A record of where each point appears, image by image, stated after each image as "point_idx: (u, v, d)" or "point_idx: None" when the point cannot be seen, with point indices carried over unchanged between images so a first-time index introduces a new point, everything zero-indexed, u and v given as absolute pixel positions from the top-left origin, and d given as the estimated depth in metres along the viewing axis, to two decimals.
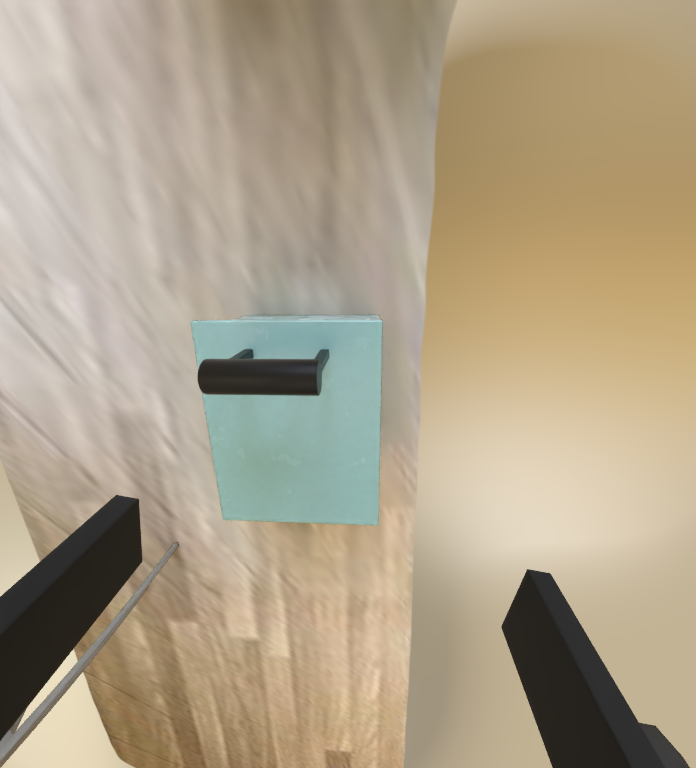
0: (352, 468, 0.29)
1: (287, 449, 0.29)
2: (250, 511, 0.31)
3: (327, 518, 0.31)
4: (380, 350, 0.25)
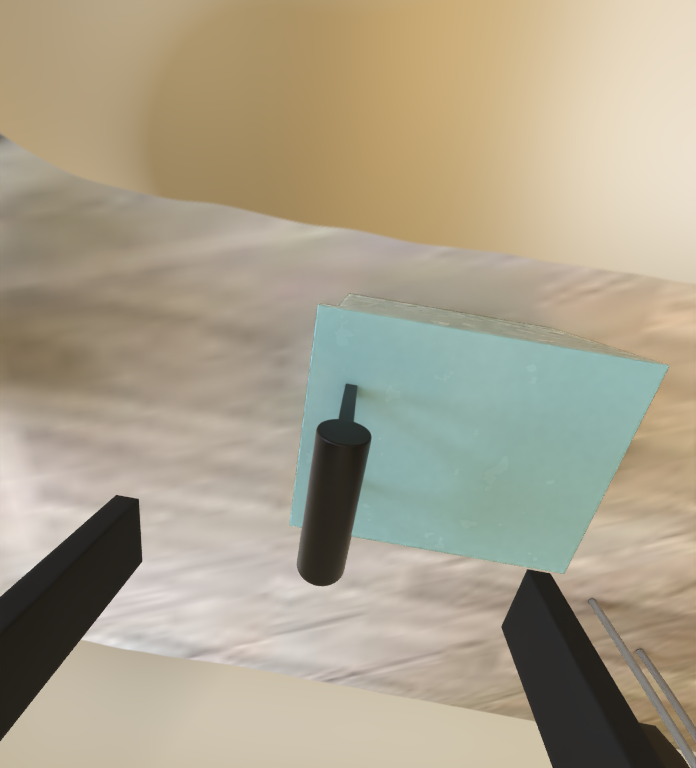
0: (540, 387, 0.18)
1: (479, 468, 0.20)
2: (564, 539, 0.21)
3: (620, 442, 0.19)
4: (359, 313, 0.17)
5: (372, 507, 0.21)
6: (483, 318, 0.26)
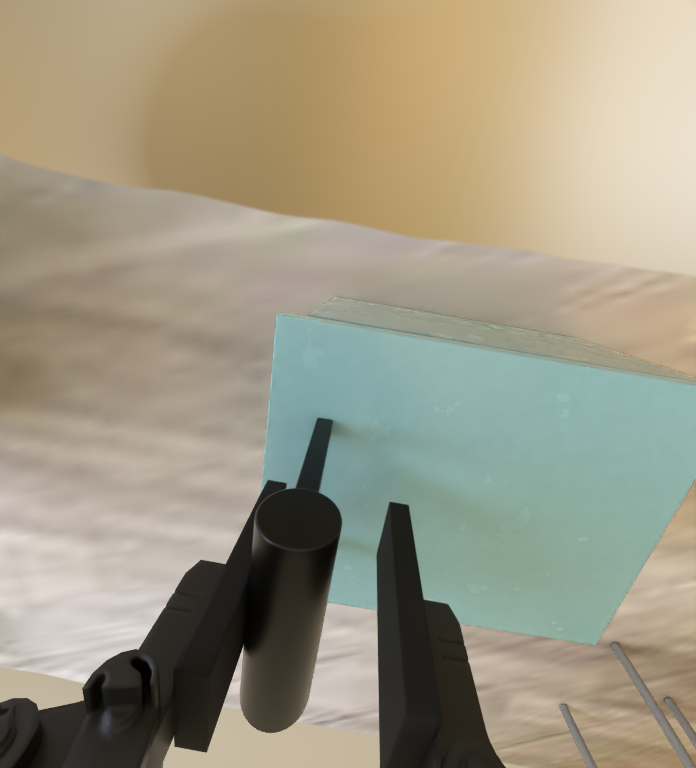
0: (574, 421, 0.14)
1: (492, 522, 0.16)
2: (597, 605, 0.17)
3: (674, 490, 0.15)
4: (332, 326, 0.13)
5: (356, 569, 0.17)
6: (493, 326, 0.22)
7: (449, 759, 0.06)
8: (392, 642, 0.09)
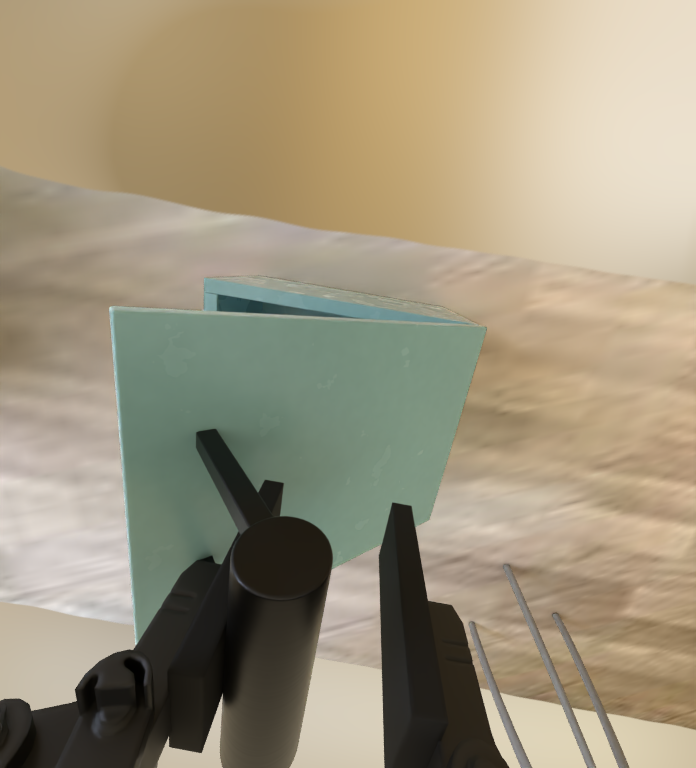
0: (412, 368, 0.17)
1: (368, 467, 0.18)
2: (429, 493, 0.23)
3: (460, 399, 0.21)
4: (199, 317, 0.10)
5: None
6: (372, 296, 0.29)
7: (455, 762, 0.06)
8: (396, 644, 0.09)
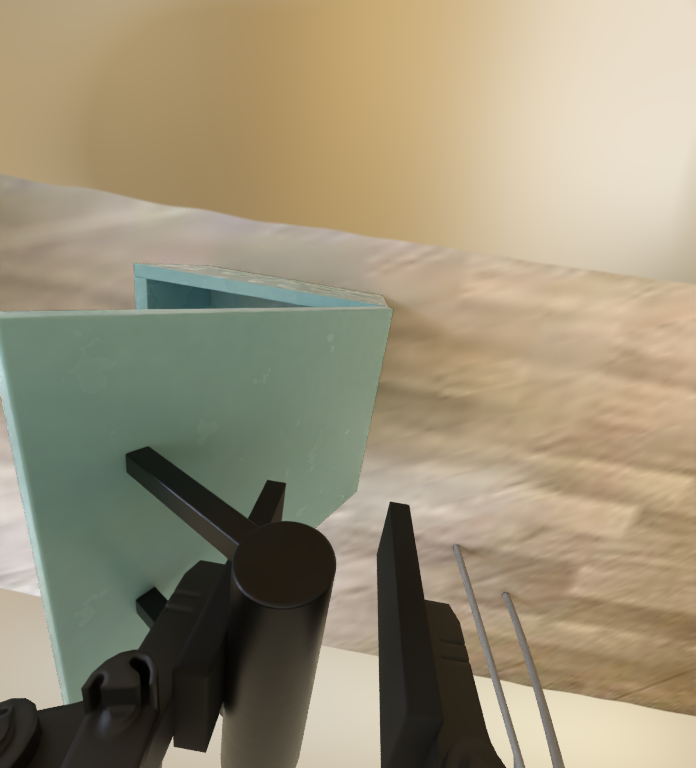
0: (337, 353, 0.18)
1: (304, 455, 0.18)
2: (355, 467, 0.25)
3: (376, 376, 0.23)
4: (118, 319, 0.09)
5: None
6: (311, 284, 0.31)
7: (450, 760, 0.06)
8: (393, 642, 0.09)
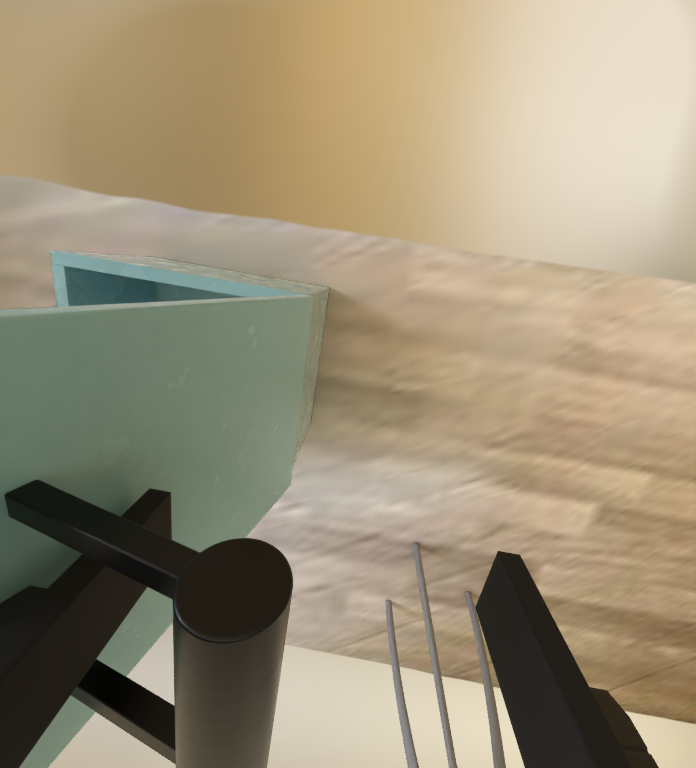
0: (260, 346, 0.17)
1: (233, 457, 0.17)
2: (287, 461, 0.24)
3: (301, 367, 0.23)
4: None
5: (137, 616, 0.13)
6: (252, 275, 0.30)
7: None
8: (563, 750, 0.07)
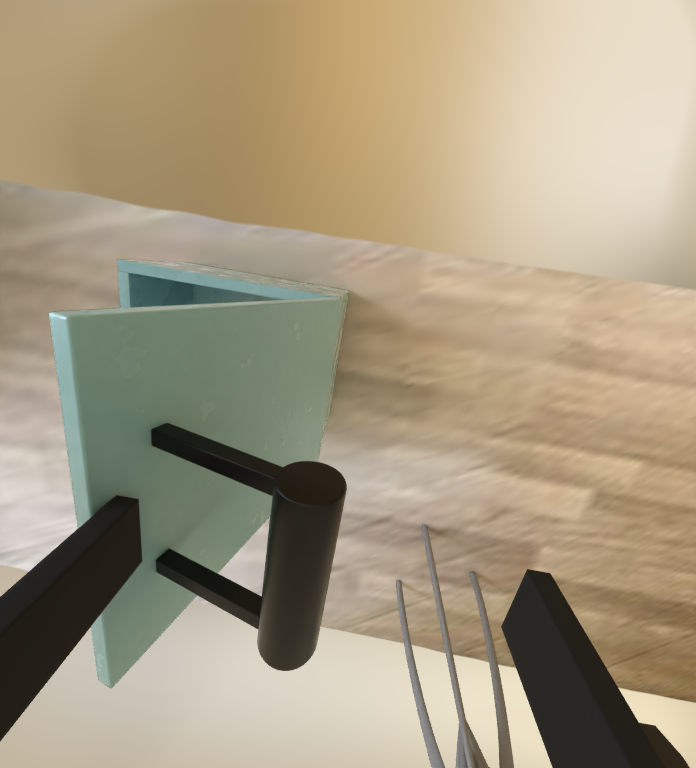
0: (301, 339, 0.20)
1: (278, 431, 0.21)
2: (316, 442, 0.28)
3: (331, 360, 0.26)
4: (148, 315, 0.10)
5: (209, 546, 0.17)
6: (282, 280, 0.34)
7: None
8: None
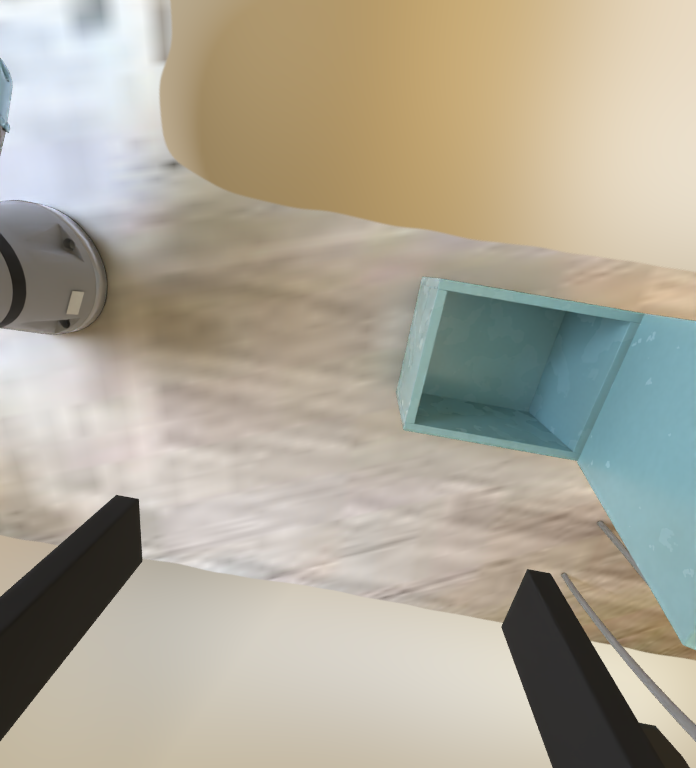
0: None
1: None
2: None
3: None
4: None
5: None
6: None
7: None
8: None
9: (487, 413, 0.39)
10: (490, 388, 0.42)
